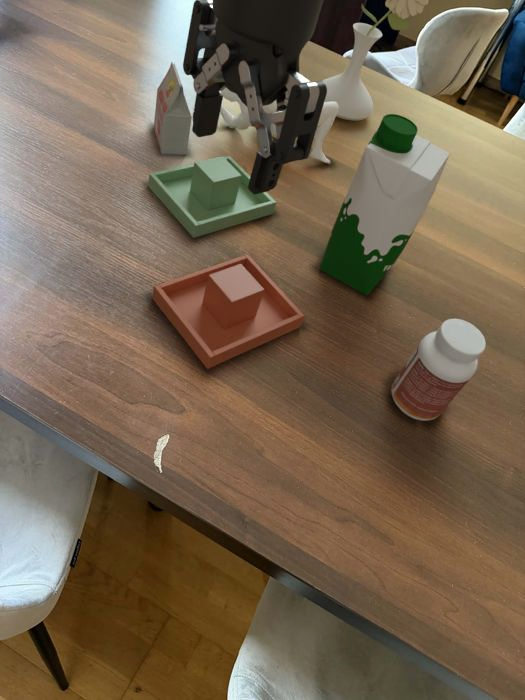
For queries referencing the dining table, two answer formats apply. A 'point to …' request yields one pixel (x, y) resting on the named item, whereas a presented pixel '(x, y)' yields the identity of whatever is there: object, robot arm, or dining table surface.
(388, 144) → the soya milk
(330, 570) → the dining table surface
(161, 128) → the small milk carton
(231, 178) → the sage block
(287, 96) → the robot arm
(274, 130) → the person figurine
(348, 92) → the flower in vase
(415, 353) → the pill bottle
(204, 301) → the terracotta block
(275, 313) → the terracotta tray
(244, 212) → the sage tray
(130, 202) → the dining table surface
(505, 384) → the dining table surface
